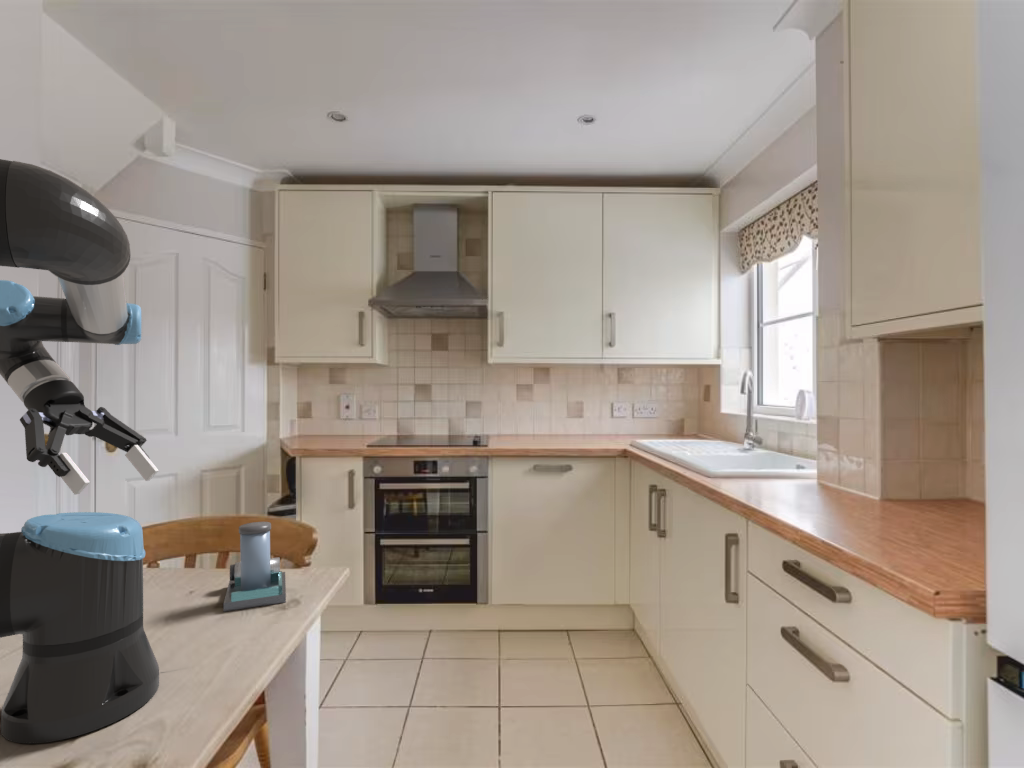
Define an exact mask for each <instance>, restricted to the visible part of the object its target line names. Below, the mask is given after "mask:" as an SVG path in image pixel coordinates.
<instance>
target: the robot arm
mask: <svg viewBox="0 0 1024 768" xmlns="http://www.w3.org/2000/svg"><path fill="white" fill-rule="evenodd" d="M130 262H131V244H130V241H129V238H128V235H127V233H126V231H125V229H124V226H123V225H122V224H121V222H120V221H119V220H118V218H117V216H115V215H114V213H112V212H111V211H110V209H109V208H108V207H107V206H105V204H103V203H102V202H101V201H100V200H99V199H98V198H96V197H95V196H94V195H93V194H91V193H90V192H89V191H87V189H85V188H83V187H81V186H80V185H78V184H76V183H75V182H73V181H71V179H69V178H66V177H64V176H63V175H60V174H58V173H56V172H54V171H52V170H50V169H46V168H44V167H40V166H39V165H35V164H32V163H27V162H21V161H18V160H17V161H16V160H12V161H11V160H8V159H0V267H8V268H9V267H10V268H22V269H23V268H24V269H33V270H41V271H42V270H43V271H48V272H50V273H51V274H52V275H54V276H55V277H57V280H58V282H59V284H60V287H61V289H62V292H63V294H64V297H65V298H63V297H49V296H34V295H33V294H32V293H31V292H32V291H30V289H28V288H27V287H26V286H24V285H23V284H19V283H17V282H14V281H12V280H6V279H0V377H2V379H4V381H5V382H6V384H7V385H8V386H9V387H10V389H11V390H12V391H13V392H14V394H16V396H17V397H18V399H20V401H21V402H22V403H23V405H24V407H25V408H26V409H27V411H25V413H24V414H23V415H22V416H21V417H20V419H19V421H20V423H21V424H22V426H23V428H24V437H25V439H24V440H25V452H26V453H25V454H26V460H27V461H28V462H30V463H35V462H36V461H38V462H37V464H38V466H40V467H42V468H46V467H47V466H48V467H49V468H50V470H52V472H53V474H55V476H57V477H58V478H61V479H62V481H64V483H65V484H66V486H67V488H69V489H70V491H71V492H72V493H73V495H79V494H81V493H82V492H83V491H84V490H85V489H86V488H87V486H89V485H90V483H91V481H90V480H89V479H88V478H87V476H86V475H85V474H84V473H83V472H82V470H81V469H80V468H79V466H78V465H77V464H76V463H75V462H74V460H73V459H72V457H71V456H70V455H69V454H68V452H61V449H62V448H61V447H62V445H63V442H64V440H65V439H64V438H65V436H72V435H85V436H87V437H89V438H92V437H95V438H97V439H98V440H101V441H103V442H105V443H107V444H109V445H112V446H113V447H115V448H117V449H119V450H121V451H123V452H126V453H125V454H124V456H125V457H126V458H127V459H128V461H129V463H131V465H132V466H133V467H134V468H135V469H136V471H137V472H138V473H139V474H140V476H141V477H142V478H143V479H144V481H145V482H149V481H150V480H151V479H152V478H153V477H154V476H156V474H157V473H158V472H160V471H159V469H158V467H157V466H156V465H155V463H153V461H152V460H151V458H150V456H149V455H148V454H147V453H146V451H145V450H144V449H143V447H142V446H144V444H145V443H146V442H147V441H148V440H147V438H146V437H144V436H143V435H142V434H140V433H139V432H137V431H135V430H134V429H133V428H132V427H130V426H128V425H127V424H125V423H124V422H123V421H121V420H119V418H116V417H115V416H113V415H112V414H111V413H110V412H109V411H108V410H107V408H105V407H103V406H99V407H98V408H97V410H91V409H89V408H88V407H86V406H85V398H84V395H83V393H82V392H81V391H80V390H79V387H77V386H76V384H75V383H74V382H72V380H71V378H70V377H69V376H68V374H67V373H66V372H65V371H64V370H63V368H62V367H61V366H60V365H59V363H57V362H56V361H55V359H54V358H53V357H52V356H51V354H50V353H49V351H48V350H47V349H46V348H45V345H44V343H43V342H53V343H55V342H58V343H59V342H60V343H79V344H80V343H81V344H82V343H85V344H101V345H103V344H106V345H115V346H120V345H137V344H139V343H140V342H141V340H142V308H141V306H140V305H138V304H137V303H128V302H127V296H126V295H127V293H126V285H125V276H124V273H125V272H126V271H127V269H128V268H129V265H130ZM93 424H95V425H94V426H93ZM44 425H45V426H48V427H49V432H48V435H47V442H46V438H45V430H44V429H45V428H44ZM91 428H92V429H91ZM60 452H61V453H60ZM143 532H144V531H143V527H142V525H141V523H140V521H138V520H136V519H135V518H133V517H131V516H128V515H124V514H119V513H110V512H99V511H98V512H95V511H92V512H91V511H88V512H87V511H83V512H82V511H78V512H73V511H72V512H59V513H56V514H44V515H43V514H42V515H38V516H34V517H31V518H29V519H27V520H26V521H25V522H24V523H23V526H21V531H16V532H5V533H4V532H3V533H2V532H1V533H0V639H1V638H5V637H10V636H11V637H12V636H17V635H22V655H21V656H22V657H21V659H20V663H19V665H18V667H17V670H16V672H15V676H14V678H13V681H12V683H11V684H10V688H9V690H8V693H7V695H6V698H5V700H4V702H3V704H2V708H1V713H0V716H1V717H0V731H1V736H2V737H3V738H5V740H8V741H10V742H14V743H18V744H43V743H45V744H46V743H51V742H57V741H62V740H67V739H70V738H74V737H77V736H82V735H85V734H88V733H90V732H94V731H96V730H97V731H98V730H99V729H101V728H104V727H106V726H109V725H111V724H113V723H115V722H118V721H120V720H121V719H123V718H126V717H127V716H129V715H131V714H132V713H134V712H136V711H137V710H139V708H141V707H143V706H144V705H145V704H147V703H148V702H149V701H150V700H151V699H152V698H153V697H154V696H155V695H156V693H157V691H158V690H159V686H160V667H159V662H158V660H157V658H156V656H155V652H154V650H153V648H152V646H151V644H150V642H149V639H148V637H147V634H146V632H145V628H144V559H145V557H146V550H145V549H144V535H143V534H144V533H143Z"/></svg>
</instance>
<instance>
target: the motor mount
mask: <svg viewBox="0 0 1024 768" xmlns="http://www.w3.org/2000/svg"><path fill="white" fill-rule="evenodd" d="M280 561H281V558H280V557H272V558H271V557H270V574H271V587H266V588H259V589H252V590H245V591H241V562H240V561H238V562H235V563H234V564H230V566H229V581H228V585H227V590H226V592H225V597H224V601H223V612H233V611H239V610H244V609H250V608H257V607H258V608H259V607H264V606H270V605H278V604H283V603H286V602H287V601H286V597H287V595H286V593H287V592H286V571H281V562H280Z"/></svg>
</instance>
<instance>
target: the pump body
mask: <svg viewBox="0 0 1024 768" xmlns="http://www.w3.org/2000/svg"><path fill="white" fill-rule="evenodd" d="M271 530H272V523H271V522H269V521H257V522H256V521H255V522H254V521H253V522H247V523H244V524H241V525H239V526H238V534H239V538H240V539H239V548H240V554H239V555H240V561H239V562H241V591H245V590H252V589H259V588H266V587H271V574H270V558H271Z"/></svg>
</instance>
